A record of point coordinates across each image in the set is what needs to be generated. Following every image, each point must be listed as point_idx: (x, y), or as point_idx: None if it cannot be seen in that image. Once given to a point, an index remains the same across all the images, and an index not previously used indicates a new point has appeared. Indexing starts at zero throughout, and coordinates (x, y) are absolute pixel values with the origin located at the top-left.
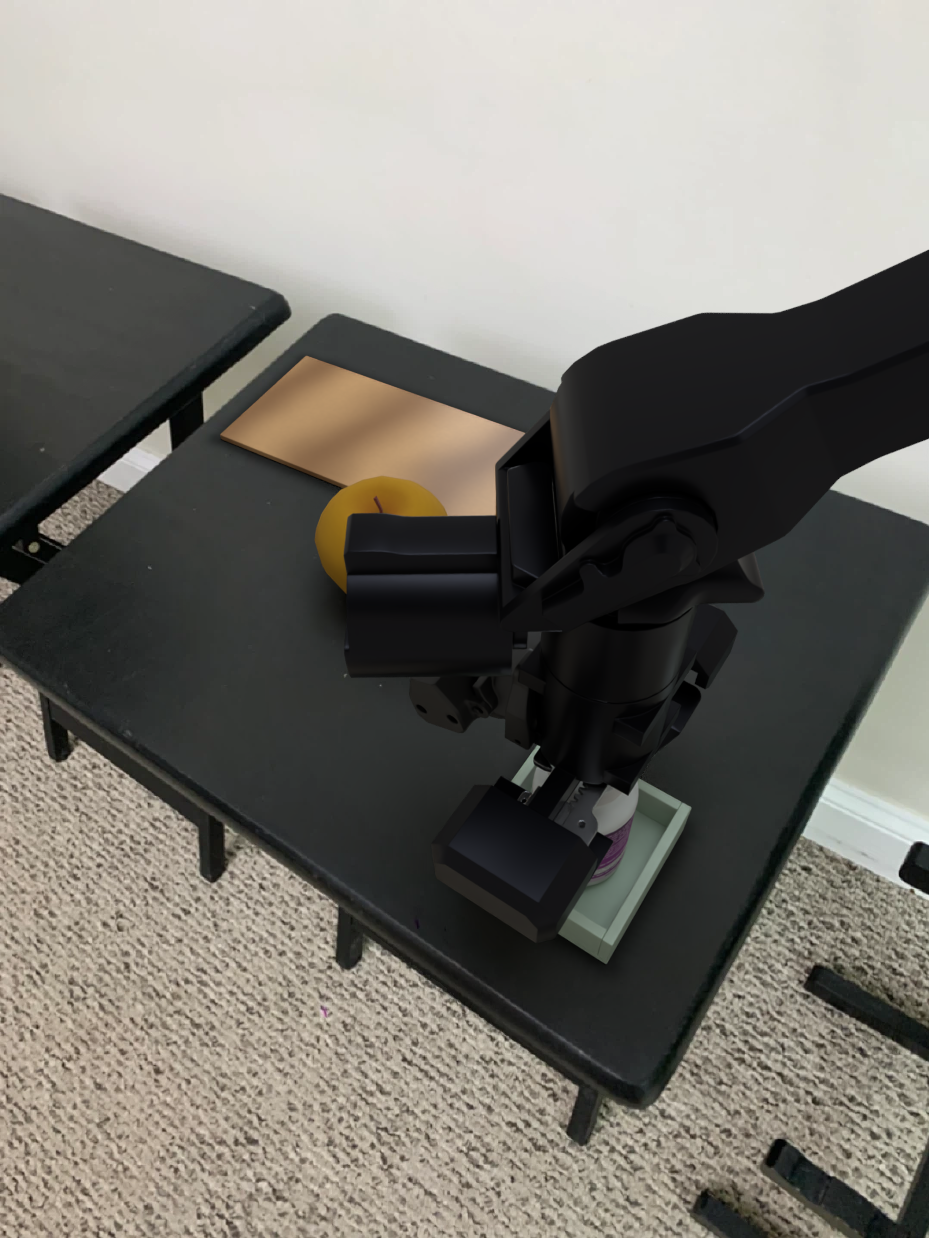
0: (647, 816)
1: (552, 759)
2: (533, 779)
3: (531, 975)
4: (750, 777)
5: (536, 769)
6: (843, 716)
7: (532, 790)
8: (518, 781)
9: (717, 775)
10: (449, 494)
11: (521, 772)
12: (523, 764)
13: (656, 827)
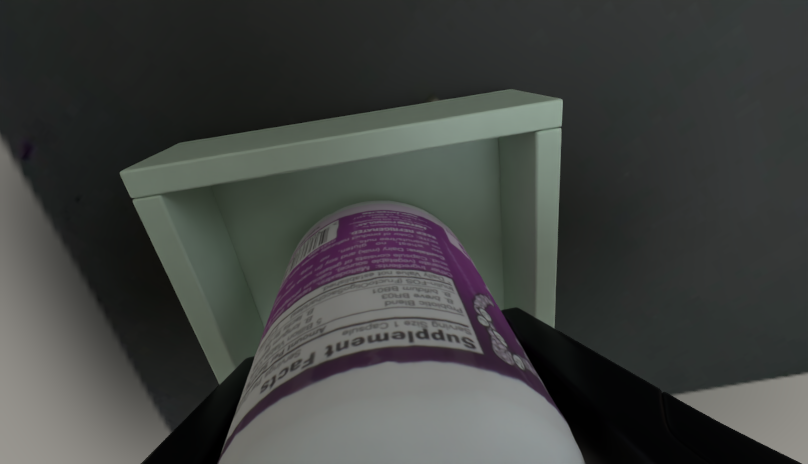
0: (504, 308)
1: None
2: (277, 422)
3: (171, 340)
4: (644, 352)
5: (309, 433)
6: (788, 374)
7: (280, 370)
8: (379, 147)
9: (626, 324)
10: None
11: (406, 133)
12: (429, 121)
13: None
